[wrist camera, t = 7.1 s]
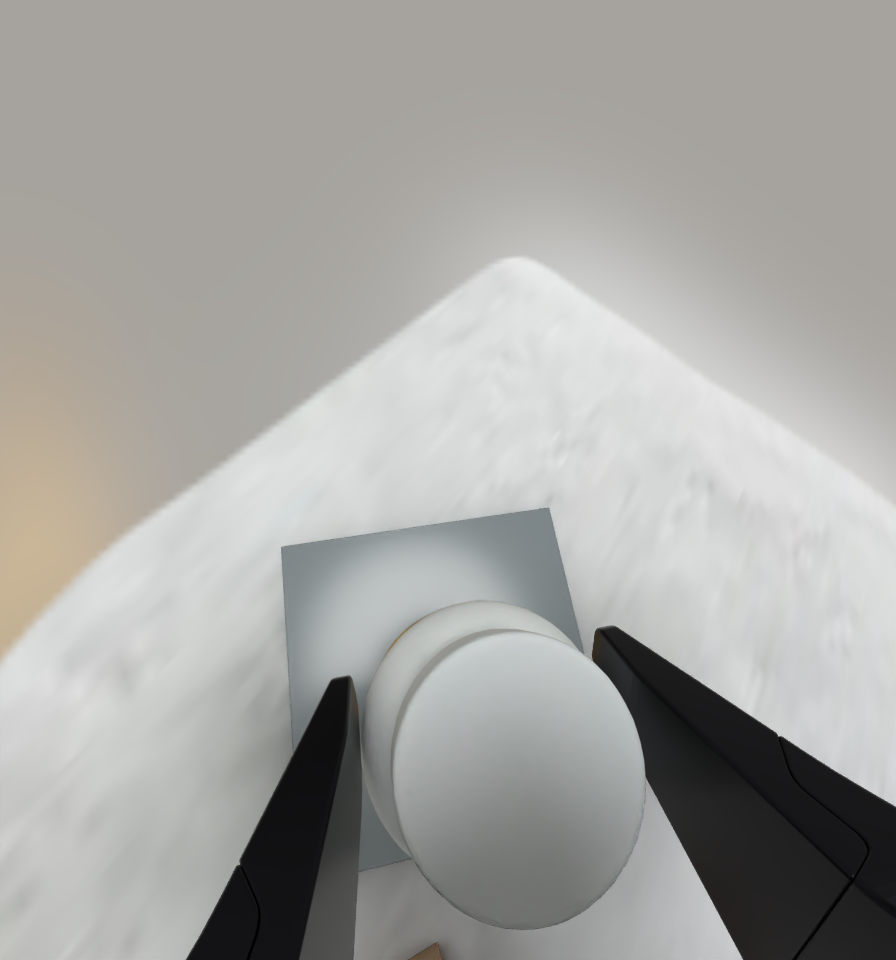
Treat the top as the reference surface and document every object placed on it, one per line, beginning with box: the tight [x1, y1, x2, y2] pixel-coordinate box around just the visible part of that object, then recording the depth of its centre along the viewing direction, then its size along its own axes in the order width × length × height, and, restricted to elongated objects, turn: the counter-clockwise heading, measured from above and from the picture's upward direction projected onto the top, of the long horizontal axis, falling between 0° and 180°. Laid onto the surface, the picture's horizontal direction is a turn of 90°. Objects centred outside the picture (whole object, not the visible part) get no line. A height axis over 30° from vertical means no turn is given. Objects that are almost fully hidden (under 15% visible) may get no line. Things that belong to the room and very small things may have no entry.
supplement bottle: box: [361, 600, 646, 930], centre depth 11 cm, size 5×5×10 cm
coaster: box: [281, 508, 584, 872], centre depth 22 cm, size 14×14×1 cm
